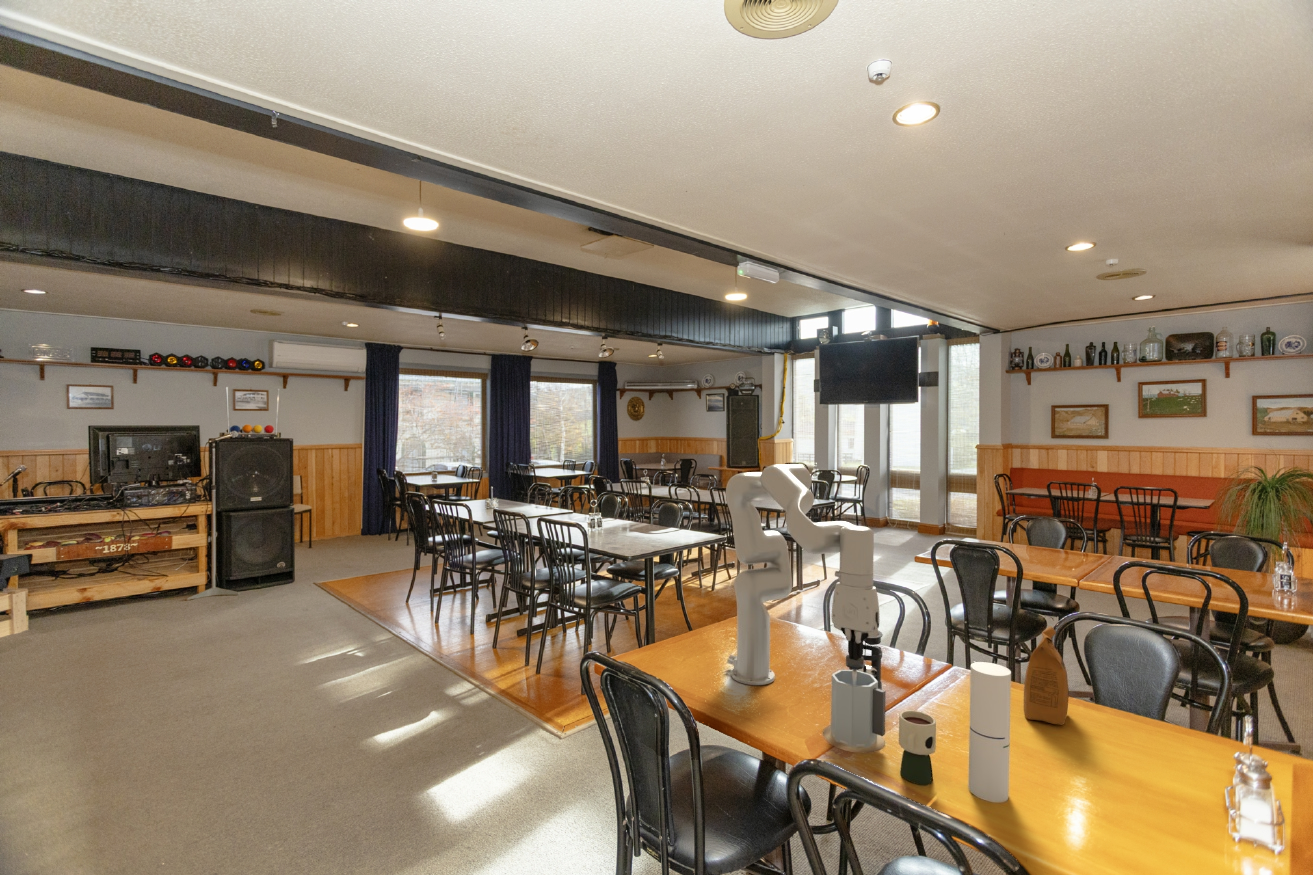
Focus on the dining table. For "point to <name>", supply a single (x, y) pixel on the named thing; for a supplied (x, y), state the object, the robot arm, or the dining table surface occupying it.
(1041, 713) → the coffee package
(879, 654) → the french press
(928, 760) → the character mug
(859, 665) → the plunger
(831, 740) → the trivet
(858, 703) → the carafe
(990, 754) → the cylindrical container
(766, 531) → the robot arm
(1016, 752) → the dining table surface
